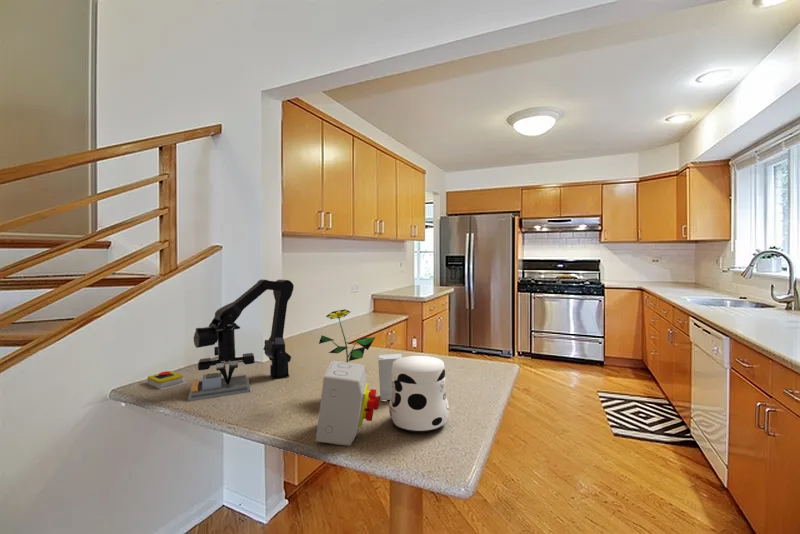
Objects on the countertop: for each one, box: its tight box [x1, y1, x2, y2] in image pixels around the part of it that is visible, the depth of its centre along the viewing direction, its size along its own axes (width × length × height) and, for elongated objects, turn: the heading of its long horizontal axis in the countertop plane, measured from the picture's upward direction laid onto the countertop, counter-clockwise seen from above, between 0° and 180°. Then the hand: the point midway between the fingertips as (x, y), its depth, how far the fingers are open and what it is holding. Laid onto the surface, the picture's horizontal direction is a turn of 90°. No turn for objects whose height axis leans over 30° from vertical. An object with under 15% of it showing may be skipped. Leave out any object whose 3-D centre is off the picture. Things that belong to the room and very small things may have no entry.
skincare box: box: [377, 353, 403, 401], centre depth 130 cm, size 8×6×15 cm
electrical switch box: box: [315, 360, 381, 446], centre depth 106 cm, size 15×15×20 cm
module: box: [201, 372, 222, 391], centre depth 139 cm, size 6×6×5 cm
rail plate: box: [187, 373, 251, 402], centre depth 141 cm, size 20×13×4 cm, turn 114°
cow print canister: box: [388, 355, 450, 433], centre depth 111 cm, size 17×17×18 cm
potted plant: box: [318, 309, 376, 371], centre depth 129 cm, size 18×19×30 cm
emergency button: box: [145, 370, 187, 391], centre depth 150 cm, size 9×4×15 cm
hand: (227, 384), depth 141 cm, fingers closed
